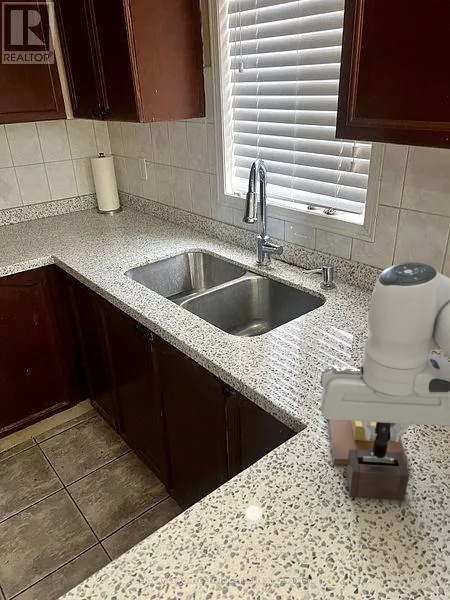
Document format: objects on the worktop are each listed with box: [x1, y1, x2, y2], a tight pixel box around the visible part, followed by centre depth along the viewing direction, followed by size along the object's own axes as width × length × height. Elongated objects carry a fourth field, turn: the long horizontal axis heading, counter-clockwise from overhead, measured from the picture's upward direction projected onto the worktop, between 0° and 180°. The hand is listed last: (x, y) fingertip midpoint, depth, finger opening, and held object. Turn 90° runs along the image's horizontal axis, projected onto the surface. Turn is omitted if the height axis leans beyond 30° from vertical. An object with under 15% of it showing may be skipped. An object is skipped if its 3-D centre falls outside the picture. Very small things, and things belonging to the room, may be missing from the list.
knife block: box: [345, 449, 410, 502], centre depth 77 cm, size 9×5×6 cm, turn 83°
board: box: [327, 419, 409, 467], centre depth 90 cm, size 13×18×2 cm
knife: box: [362, 422, 394, 466], centre depth 74 cm, size 5×2×16 cm, turn 83°
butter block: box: [351, 421, 376, 441], centre depth 88 cm, size 4×6×4 cm
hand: (381, 438), depth 73 cm, fingers closed on knife, 2 cm apart
